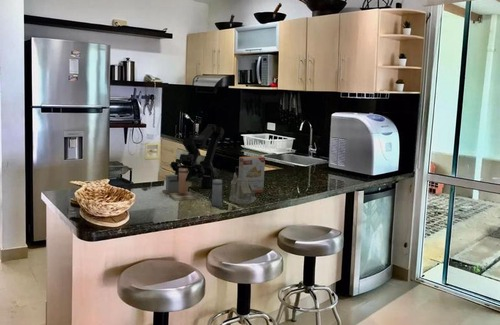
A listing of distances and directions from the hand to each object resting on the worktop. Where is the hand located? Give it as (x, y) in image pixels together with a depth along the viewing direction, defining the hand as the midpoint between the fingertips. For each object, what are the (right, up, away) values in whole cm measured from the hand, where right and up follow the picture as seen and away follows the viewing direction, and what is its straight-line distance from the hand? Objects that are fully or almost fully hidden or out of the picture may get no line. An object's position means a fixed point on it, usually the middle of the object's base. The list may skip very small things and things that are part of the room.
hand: (181, 180), depth 241 cm
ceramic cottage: (+33, -11, +2) cm, 35 cm away
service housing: (-7, -7, +14) cm, 17 cm away
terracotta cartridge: (0, -6, +2) cm, 7 cm away
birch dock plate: (0, -9, +3) cm, 10 cm away
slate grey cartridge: (+19, -12, -11) cm, 25 cm away
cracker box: (+37, -8, +19) cm, 42 cm away
